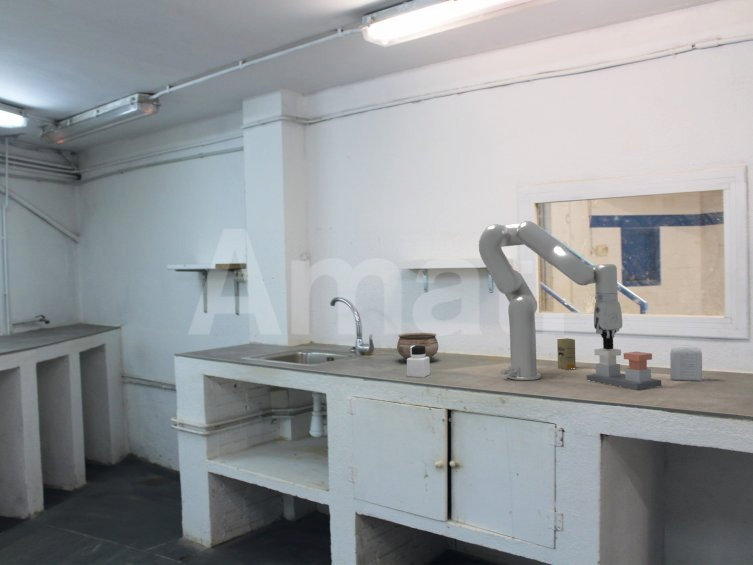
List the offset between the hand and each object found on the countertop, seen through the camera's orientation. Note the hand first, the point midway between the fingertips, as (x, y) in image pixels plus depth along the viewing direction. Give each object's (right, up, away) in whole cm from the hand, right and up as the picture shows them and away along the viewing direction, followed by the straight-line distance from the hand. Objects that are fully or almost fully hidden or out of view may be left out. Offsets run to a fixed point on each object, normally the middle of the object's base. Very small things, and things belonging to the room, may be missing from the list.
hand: (608, 348), depth 226 cm
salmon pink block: (+6, -6, -11) cm, 14 cm away
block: (+3, -12, -5) cm, 13 cm away
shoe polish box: (-7, -11, +28) cm, 31 cm away
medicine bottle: (-67, -13, +23) cm, 72 cm away
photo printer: (+27, -11, -3) cm, 29 cm away
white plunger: (0, -6, 0) cm, 6 cm away
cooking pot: (-65, -12, +59) cm, 89 cm away
